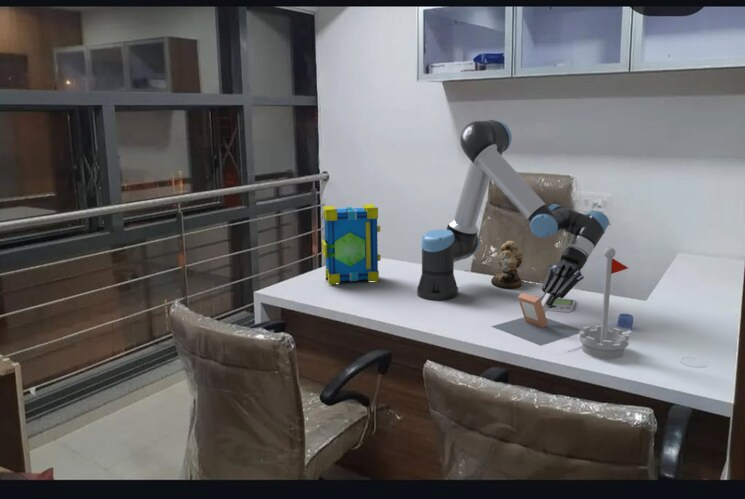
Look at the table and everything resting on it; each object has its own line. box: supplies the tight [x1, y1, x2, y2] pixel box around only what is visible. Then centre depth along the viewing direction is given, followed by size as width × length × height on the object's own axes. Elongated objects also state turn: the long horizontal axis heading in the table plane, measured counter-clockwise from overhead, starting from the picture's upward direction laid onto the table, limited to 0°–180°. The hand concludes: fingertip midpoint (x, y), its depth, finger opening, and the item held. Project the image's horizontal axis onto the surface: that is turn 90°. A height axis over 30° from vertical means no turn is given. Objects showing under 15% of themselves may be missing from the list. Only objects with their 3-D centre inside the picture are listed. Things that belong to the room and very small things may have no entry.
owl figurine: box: [490, 240, 523, 290], centre depth 244 cm, size 18×12×17 cm, turn 175°
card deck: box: [517, 292, 548, 328], centre depth 195 cm, size 7×2×10 cm, turn 34°
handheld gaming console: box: [546, 298, 576, 314], centre depth 216 cm, size 10×2×15 cm
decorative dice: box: [616, 313, 634, 330], centre depth 195 cm, size 4×4×4 cm
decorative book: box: [321, 203, 382, 285], centre depth 249 cm, size 14×23×30 cm, turn 100°
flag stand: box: [578, 247, 630, 360], centre depth 173 cm, size 13×13×30 cm
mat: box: [491, 316, 582, 347], centre depth 193 cm, size 20×20×1 cm
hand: (539, 312), depth 197 cm, fingers closed
